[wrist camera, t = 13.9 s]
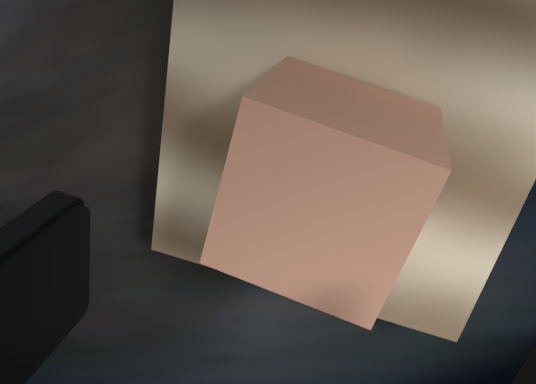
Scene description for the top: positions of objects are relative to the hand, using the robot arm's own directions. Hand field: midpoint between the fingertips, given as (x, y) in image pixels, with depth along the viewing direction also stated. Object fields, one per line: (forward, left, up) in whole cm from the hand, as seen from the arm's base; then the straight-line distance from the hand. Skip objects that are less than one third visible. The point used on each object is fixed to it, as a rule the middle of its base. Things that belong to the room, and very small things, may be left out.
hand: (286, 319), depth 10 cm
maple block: (0, 0, -15) cm, 15 cm away
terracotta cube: (0, 0, -11) cm, 11 cm away
